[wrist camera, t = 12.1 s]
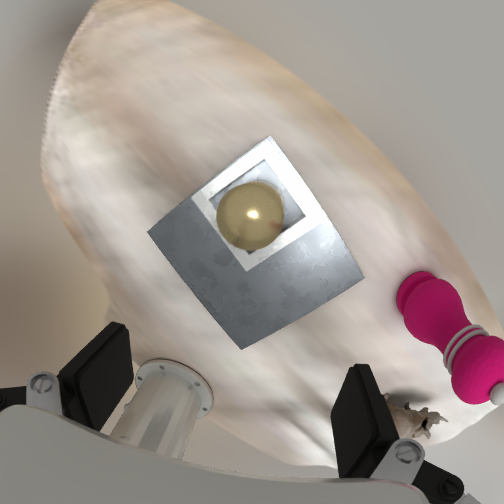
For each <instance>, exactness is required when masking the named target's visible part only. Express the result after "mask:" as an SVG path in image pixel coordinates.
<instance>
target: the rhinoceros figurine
mask: <svg viewBox="0 0 504 504" xmlns="http://www.w3.org/2000/svg"><path fill="white" fill-rule="evenodd" d="M384 397H385V400H386V402H387V405H388V408H389V410H390V413H391V415H392V418H393V421H394V423H395V426H396V429H397V431H398V434H399V437H400V439H403V438H409V439H412V438H416V437H420V436H421V435H422V434H425V435H426V437H427V438H428V439H429V438H430V436H431V434H430V433H429V429H430V428H431V427H432V424H439V421H440V420H443V421H446V422H448V421H447V420H446V419H445V418H443V417H442V416H440V414H439V413H438V412H429V413H428V408H426V407H424V408H423V409H422V410H420V411H416V410H411V409H410V408H409V401H408V402H407V403H406V407H404V409H400V408H398V406H394V405H391V404H389V403H388V401H387V400H388V398H389V393H387V394H385V395H384Z"/></svg>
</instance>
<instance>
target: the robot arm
mask: <svg viewBox="0 0 504 504" xmlns="http://www.w3.org/2000/svg"><path fill="white" fill-rule="evenodd" d="M133 379H134V373H133V367H132V358H131V349H130V339H129V331H128V329H126V327H125V325H124V324H120V323H117V322H111V323H110V324H109V325H107V326H106V327H105V328H104V329H103V330H102V331H101V332H100V333H99V334H98V335H97V336H96V337H95V338H94V339H93V340H91V341H90V342H89V343H88V344H87V345H86V346H85V347H84V348H83V349H82V350H81V351H80V352H79V353H78V354H77V355H76V356H75V357H74V358H73V359H72V360H71V361H70V362H69V363H68V364H67V365H66V366H65V367H64V368H62V370H60V371H59V374H58V375H57V376H55V375H54V374H52V373H50V372H43V371H42V372H37V373H35V374H33V375H32V376H30V377H29V379H28V381H27V386H22V387H12V388H1V389H0V504H481V503H480V502H478V501H477V500H476V499H475V498H474V497H473V496H471V495H470V494H469V493H468V494H467V495H465V494H464V485H463V482H462V481H461V479H460V478H458V477H457V476H455V475H453V474H451V473H449V472H447V471H445V470H443V469H441V468H439V467H437V466H435V465H433V464H431V463H429V462H427V461H425V460H424V457H425V451H424V449H423V447H422V446H421V445H420V443H418V442H417V441H415V440H412V439H409V438H403V439H400V437H399V434H398V431H397V429H396V426H395V423H394V421H393V418H392V415H391V413H390V410H389V408H388V405H387V402H386V400H385V397H384V396H383V395H382V394H381V393H380V391H379V388H378V386H377V383H376V381H375V378H374V376H373V373H372V371H371V368H370V366H369V365H368V364H355V365H354V366H353V367H350V368H349V370H348V373H347V375H346V378H345V380H344V383H343V385H342V388H341V390H340V392H339V395H338V397H337V399H336V402H335V404H334V406H333V409H332V411H331V423H332V430H333V436H334V443H335V450H336V458H337V465H338V473H339V478H330V479H329V478H328V479H327V478H294V477H279V476H268V475H258V474H251V473H243V472H237V471H231V470H225V469H219V468H214V467H209V466H204V465H200V464H195V463H191V462H187V461H183V460H182V457H183V455H184V452H185V449H186V446H187V444H188V441H189V438H190V435H191V432H192V429H193V427H194V424H195V421H196V419H199V418H201V417H204V416H205V415H206V414H208V412H209V411H210V410H211V407H212V404H213V394H212V391H211V389H210V387H209V386H208V384H207V383H206V381H205V380H204V379H203V378H202V377H201V376H200V375H198V374H197V373H196V372H195V371H193V370H191V369H190V368H188V367H186V366H184V365H182V364H180V363H176V362H173V361H169V360H159V359H157V360H151V361H148V362H146V363H144V364H143V365H142V366H141V367H140V368H139V370H138V371H137V373H136V377H135V382H136V387H137V389H138V391H137V392H136V394H135V396H134V397H133V398H132V400H131V402H130V403H128V404H125V406H124V409H125V411H124V413H123V414H122V416H121V418H120V419H119V421H118V423H117V424H116V426H115V427H114V429H113V431H112V433H111V434H110V436H108V435H105V434H103V433H100V432H99V431H100V430H101V429H102V427H103V426H104V424H105V423H106V421H107V419H108V418H109V417H110V415H111V413H112V412H113V411H114V409H115V407H116V406H117V404H118V403H119V402H120V400H121V399H122V397H123V396H124V394H125V393H126V391H127V390H128V388H129V387H130V385H131V384H132V382H133Z"/></svg>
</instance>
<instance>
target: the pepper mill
mask: <svg viewBox="0 0 504 504" xmlns="http://www.w3.org/2000/svg"><path fill="white" fill-rule="evenodd" d="M397 306H398V309H399V311H400V312H401V313H402V315H403V316H404V322H405V326H406V328H407V329H408V331H409V332H410V333H411V334H412V335H413V336H414V337H415V338H417V339H418V340H420V341H422V342H424V343H428V344H431V345H434V346H435V347H437V348H438V349H439V350H440V351H441V353H442V354H443V363H444V366H445V367H446V368H447V369H448V372H449V373H450V374H451V375H452V377H451V382H452V387H453V390H454V392H455V394H456V395H457V396H458V397H459V399H461V400H462V401H463V402H465V403H468V404H481V403H484V402H486V401H488V400H491V402H492V403H493V404H494V405H501V404H503V403H504V341H503V340H502V339H500V338H498V337H496V336H489V334H488V333H487V332H486V331H485V330H484V329H483V327H481V326H480V325H476V324H475V325H472V324H471V323H470V321H469V320H468V319H467V317H466V315H465V312H464V308H463V304H462V301H461V298H460V296H459V294H458V292H457V291H456V289H455V288H454V287H453V286H452V285H451V284H450V283H449V282H447V281H445V280H442V279H437V278H436V277H435V276H434V275H432V274H431V273H429V272H424V271H422V272H417V273H414V274H412V275H411V276H409V277H408V278H407V279H406V280H405V281H404V282H403V283H402V285H401V286H400V288H399V291H398V294H397Z"/></svg>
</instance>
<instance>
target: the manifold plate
mask: <svg viewBox="0 0 504 504" xmlns="http://www.w3.org/2000/svg"><path fill="white" fill-rule="evenodd" d="M255 180H263V181H267V182H269V183H271V184H273V185H274V186H276V187H277V188H278V190H279V191H280V193H281V194H282V197H283V201H284V222H283V227H282V230H281V232H280V234H279V236H278V237H277V238H276V239H275V240H274V241H273V242H272V243H271V244H270V245H268V246H267V247H264V248H262V249H259V250H243V249H239V248H237V247H235V246H233V245H231V244H230V243H229V242H228V241H226V240H225V238H224V237H223V236H222V234H221V233H220V231H219V228H218V225H217V220H216V213H217V208H218V205H219V202H220V200H221V199H222V197H223V196H224V195H225V194H226V193H227V192H228V191H229V190H230V189H232V188H234V187H236V186H238V185H241V184H245V183H248V182H251V181H255ZM147 233H148V234H149V235H150V237H151V238H152V239H153V241H154V242H155V244H156V245H157V246H158V248H159V249H160V250H161V252H162V253H163V254H164V256H165V257H166V258H167V260H168V261H169V262H170V264H171V265H172V266H173V268H174V269H175V270H176V271H177V273H178V274H179V275H180V277H181V278H182V279H183V280H184V282H185V283H186V284H187V286H188V287H189V288H190V289H191V291H192V292H193V293H194V294H195V296H196V297H197V298H198V299H199V301H200V302H201V303H202V304H203V305H204V307H205V308H206V309H207V310H208V312H209V313H210V314H211V315H212V316H213V318H214V319H215V320H216V321H217V322H218V324H219V325H220V326H221V327H222V328H223V329H224V331H225V332H226V333H227V334H228V335H229V336H230V338H231V339H232V340H233V341H234V342H235V343H236V344H237V346H238V347H239V348H240V349H241V350H242V349H244V348H246V347H248V346H250V345H252V344H254V343H256V342H257V341H259V340H261V339H263V338H265V337H267V336H269V335H270V334H272V333H274V332H276V331H278V330H280V329H281V328H283V327H285V326H287V325H289V324H290V323H292V322H294V321H296V320H297V319H299V318H301V317H303V316H304V315H306V314H308V313H309V312H311V311H313V310H314V309H316V308H318V307H320V306H321V305H323V304H324V303H326V302H328V301H329V300H331V299H333V298H334V297H336V296H338V295H339V294H341V293H342V292H344V291H346V290H347V289H349V288H350V287H352V286H353V285H355V284H357V283H358V282H360V281H361V280H363V279H364V278H365V277H364V275H363V274H362V272H361V270H360V269H359V267H358V265H357V264H356V262H355V260H354V259H353V257H352V255H351V254H350V252H349V250H348V249H347V247H346V245H345V244H344V242H343V240H342V239H341V237H340V236H339V234H338V232H337V231H336V229H335V228H334V226H333V225H332V223H331V222H330V220H329V218H328V217H327V215H326V214H325V212H324V211H323V209H322V208H321V206H320V205H319V203H318V202H317V200H316V199H315V197H314V196H313V194H312V193H311V191H310V190H309V188H308V187H307V186H306V184H305V183H304V181H303V180H302V178H301V177H300V176H299V174H298V173H297V171H296V170H295V169H294V167H293V166H292V164H291V163H290V162H289V160H288V159H287V157H286V156H285V155H284V153H283V152H282V151H281V149H280V148H279V147H278V145H277V144H276V143H275V141H274V140H273V139H272V137H271V136H269V137H268V138H266V139H265V140H263V141H262V142H260V143H259V144H258V145H256V146H255V147H253V148H252V149H251V150H249V151H248V152H246V153H245V154H244V155H242V156H241V157H240V158H238V159H237V160H235V161H234V162H233V163H231V164H230V165H229V166H227V167H226V168H225V169H223V170H222V171H221V172H220V173H218V174H217V175H216V176H214V177H213V178H212V179H210V180H209V181H208V182H207V183H205V184H204V185H203V186H202V187H200V188H199V189H198V190H196V191H195V192H194V193H193V194H191V195H190V196H189V197H188V198H187V199H185V200H184V201H183V202H182V203H180V204H179V205H178V206H177V207H176V208H174V209H173V210H172V211H171V212H170V213H168V214H167V215H166V216H165V217H164V218H163V219H161V220H160V221H159V222H158V223H157V224H156V225H154V226H153V227H152V228H151V229H150V230H149V231H148V232H147Z"/></svg>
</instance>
